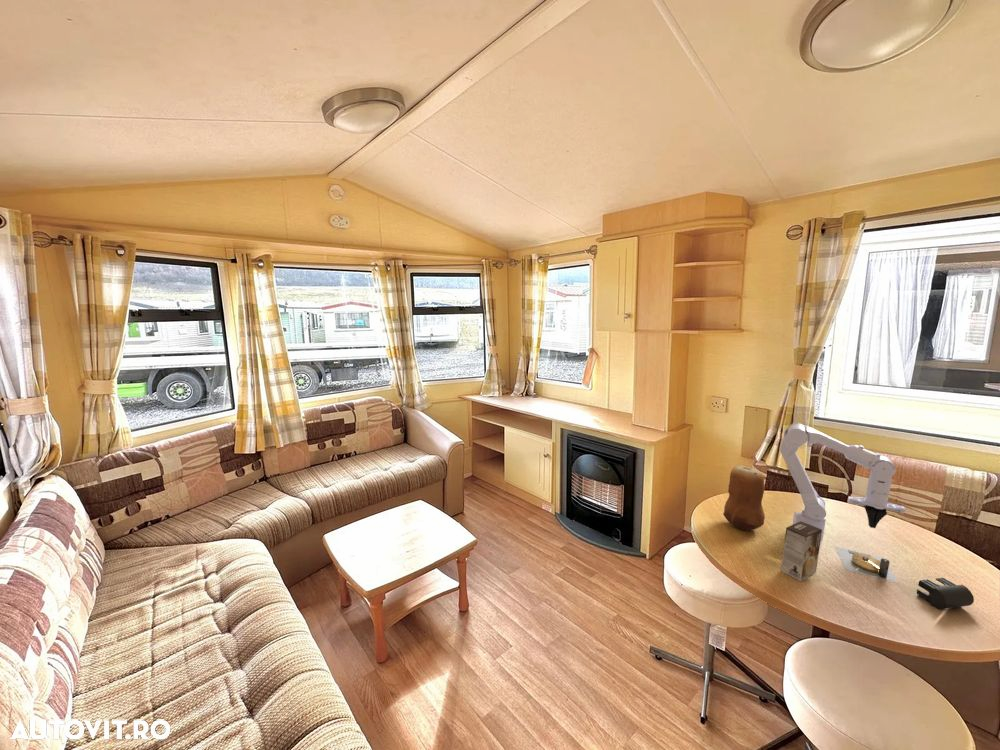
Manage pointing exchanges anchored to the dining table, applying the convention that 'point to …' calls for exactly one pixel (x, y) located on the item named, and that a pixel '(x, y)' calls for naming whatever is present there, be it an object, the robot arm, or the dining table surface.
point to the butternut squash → (745, 498)
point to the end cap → (945, 594)
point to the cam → (871, 564)
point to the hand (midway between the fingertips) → (871, 526)
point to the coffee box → (801, 550)
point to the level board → (850, 566)
